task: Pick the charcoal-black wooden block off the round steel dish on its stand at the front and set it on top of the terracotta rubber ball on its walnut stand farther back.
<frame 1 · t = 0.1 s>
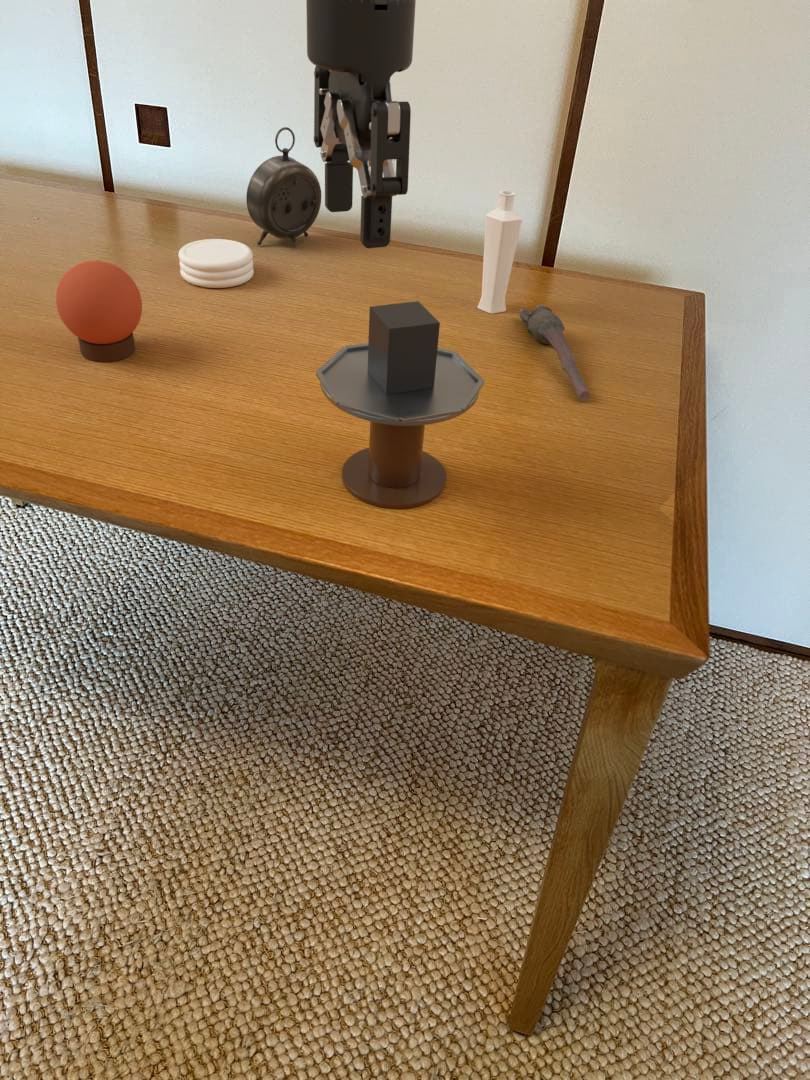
hand: (356, 227, 66), 22 cm above the table, tool pointing down, fingers open, 8 cm apart
alarm clock: (287, 244, 125), on the table
natural artifact: (549, 358, 100), on the table
coaster: (217, 276, 113), on the table
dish: (394, 477, 78), on the table
perfume bottle: (492, 309, 110), on the table
block: (400, 379, 71), point 10 cm above the table, touching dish
ball: (108, 350, 94), on the table
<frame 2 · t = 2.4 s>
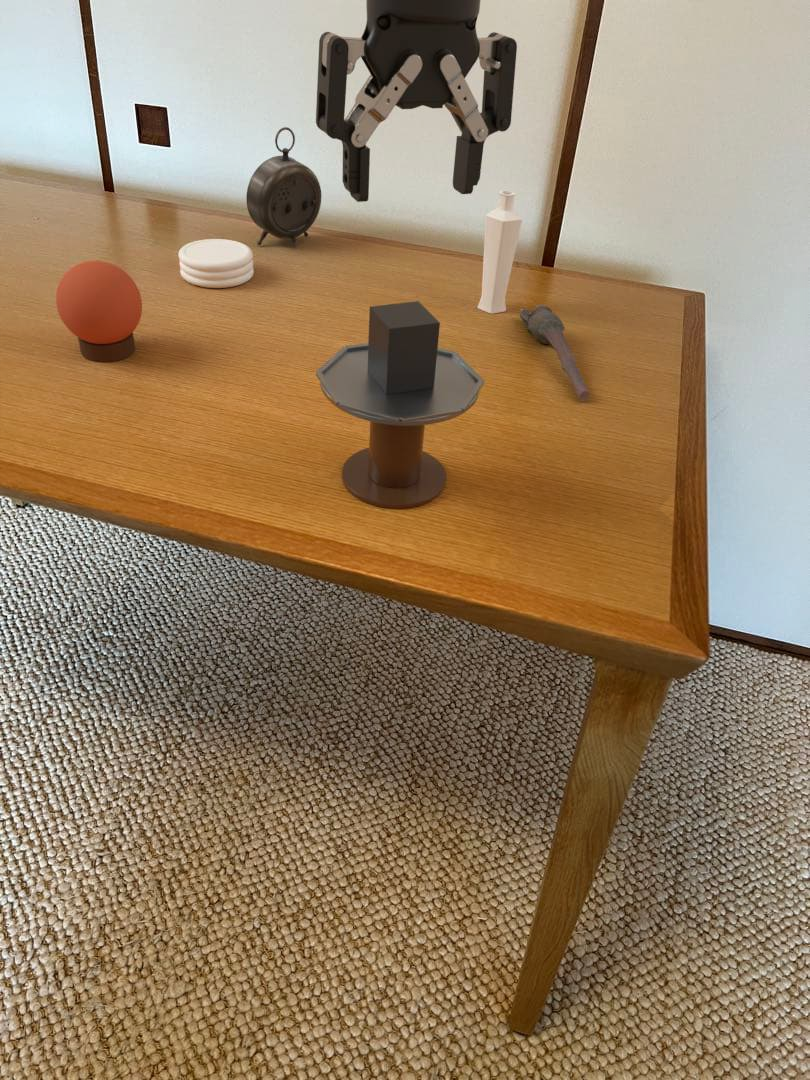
hand: (411, 195, 61), 26 cm above the table, tool pointing down, fingers open, 8 cm apart
nothing on the table moved.
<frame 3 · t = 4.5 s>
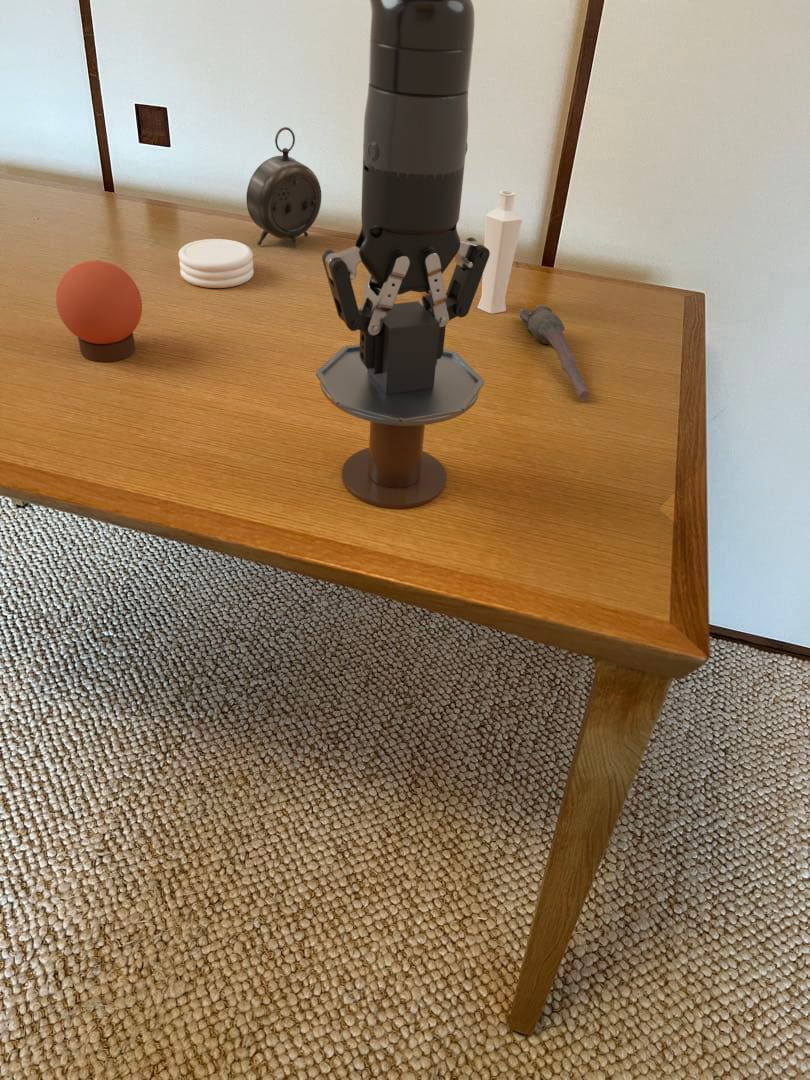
hand: (400, 365, 70), 12 cm above the table, tool pointing down, fingers closed on block, 4 cm apart
block: (400, 379, 71), point 11 cm above the table, touching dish, gripper
everything else where it was.
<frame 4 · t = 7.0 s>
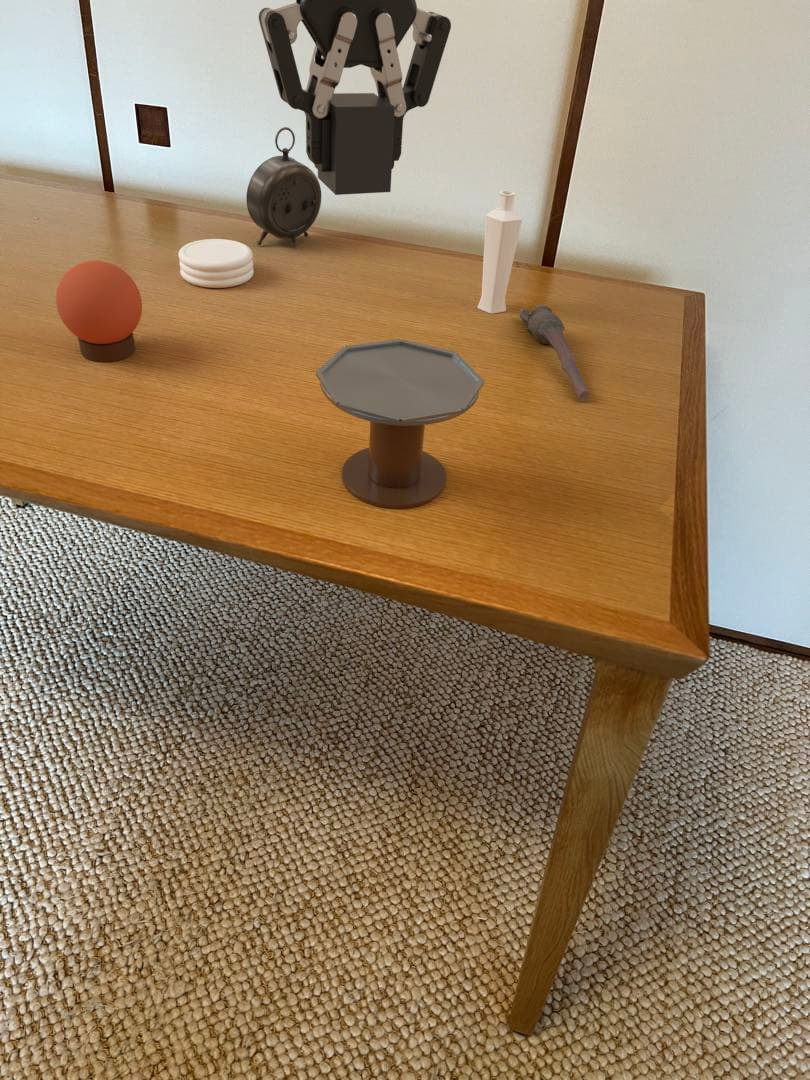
hand: (353, 166, 63), 27 cm above the table, tool pointing down, fingers closed on block, 4 cm apart
block: (353, 185, 64), point 26 cm above the table, touching gripper
everything else where it was.
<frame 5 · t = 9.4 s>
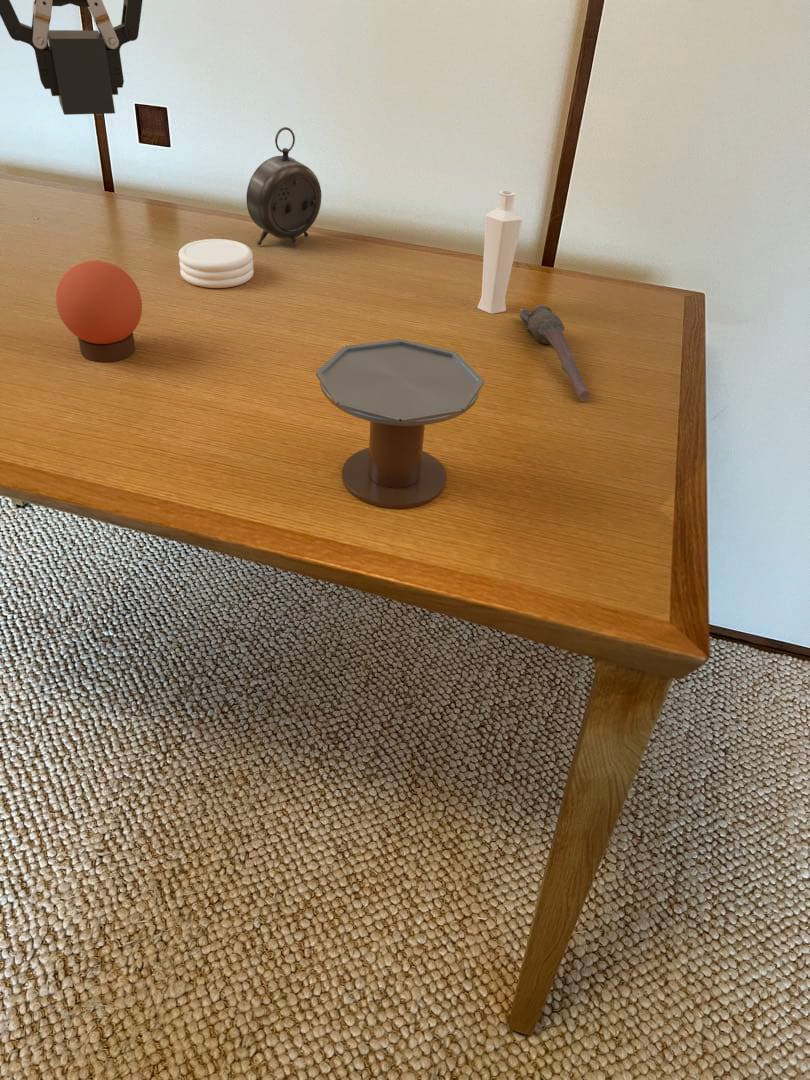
hand: (84, 92, 76), 27 cm above the table, tool pointing down, fingers closed on block, 4 cm apart
block: (87, 108, 77), point 26 cm above the table, touching gripper
everything else where it was.
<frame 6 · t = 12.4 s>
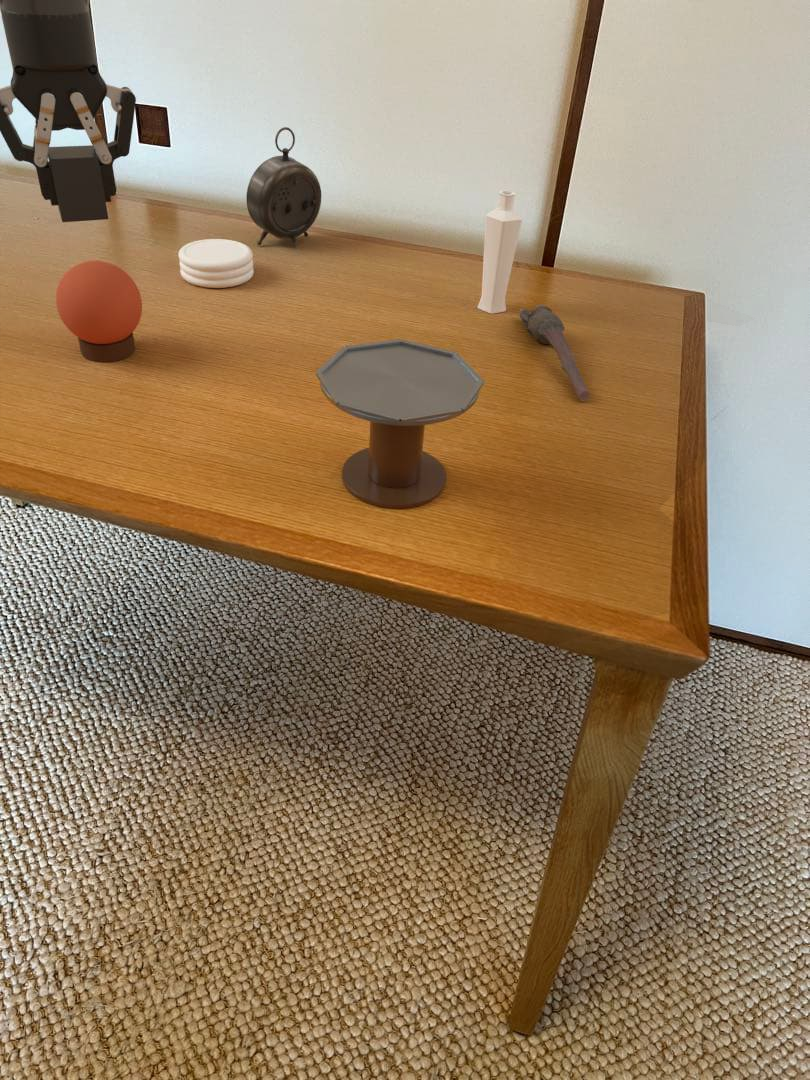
hand: (80, 200, 84), 17 cm above the table, tool pointing down, fingers closed on block, 4 cm apart
block: (83, 213, 85), point 15 cm above the table, touching gripper
everything else where it was.
when the fingers open (12 cm above the table, at t = 14.3 s): block stays where it is, resting on ball.
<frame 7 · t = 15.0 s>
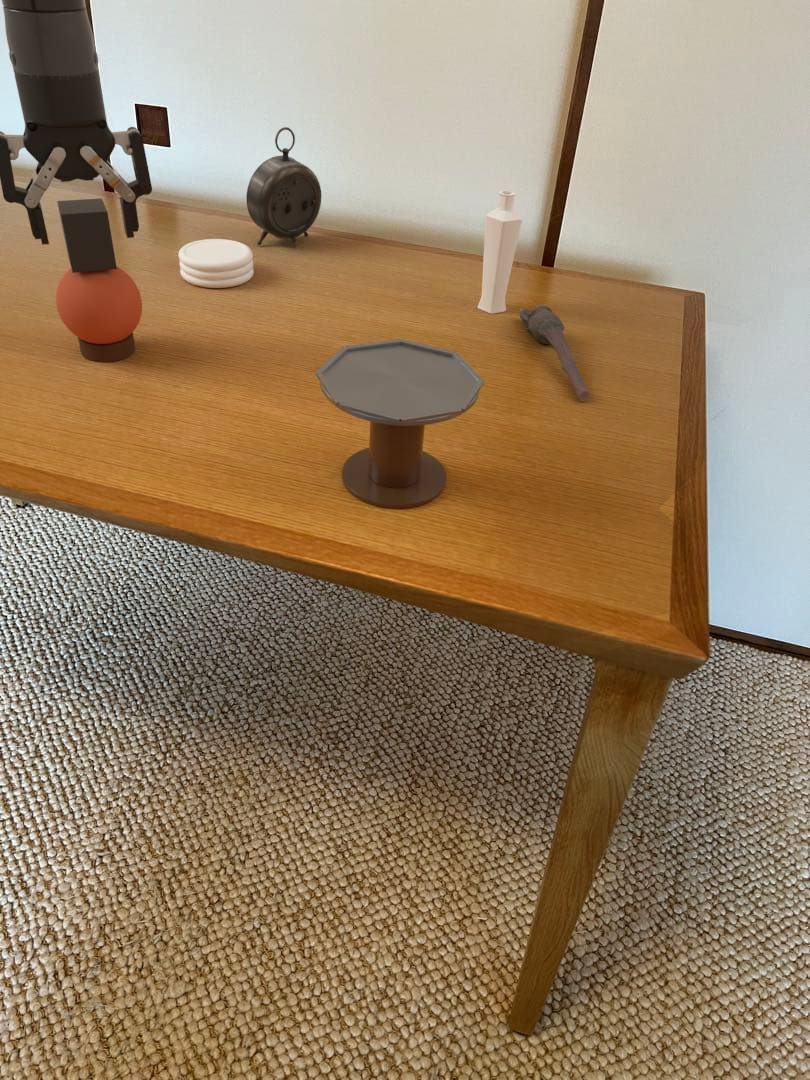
hand: (87, 238, 86), 13 cm above the table, tool pointing down, fingers open, 8 cm apart
block: (92, 263, 88), point 10 cm above the table, touching ball
everything else where it was.
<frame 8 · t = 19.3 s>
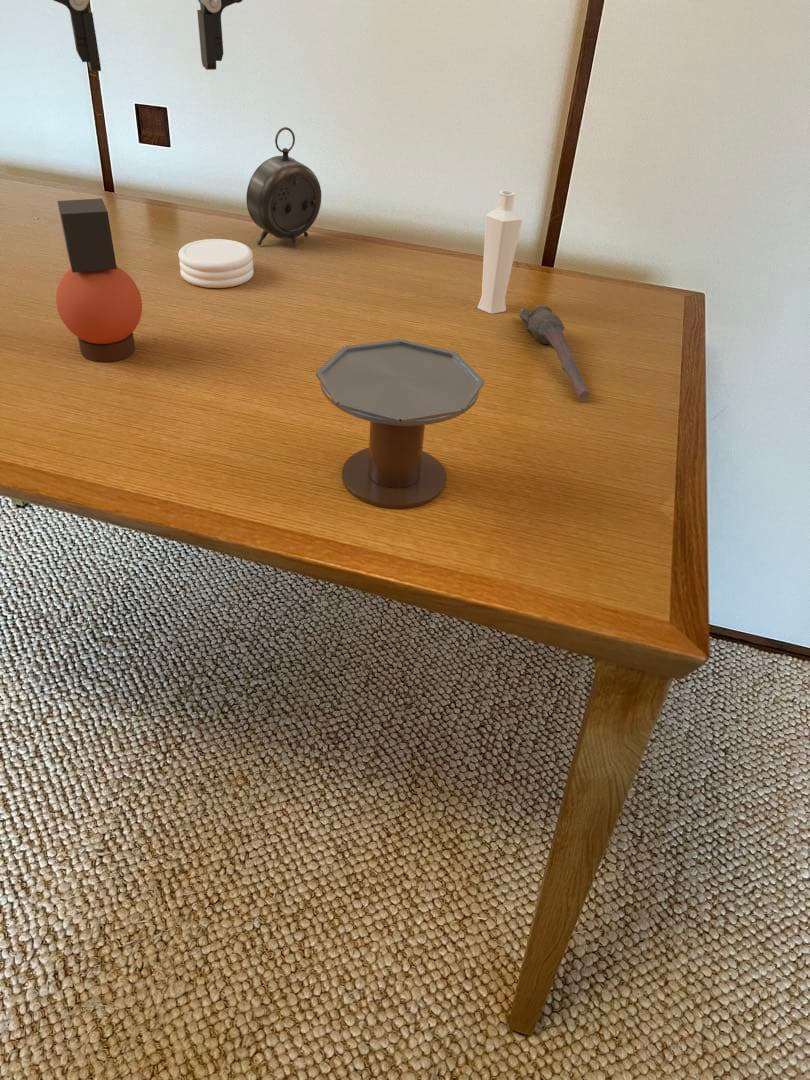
hand: (153, 68, 62), 32 cm above the table, tool pointing down, fingers open, 8 cm apart
nothing on the table moved.
at the end: block 0.0 cm off-centre on the ball, point 10.2 cm above the ball's base; block tilted 1°; the gripper is holding nothing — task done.
